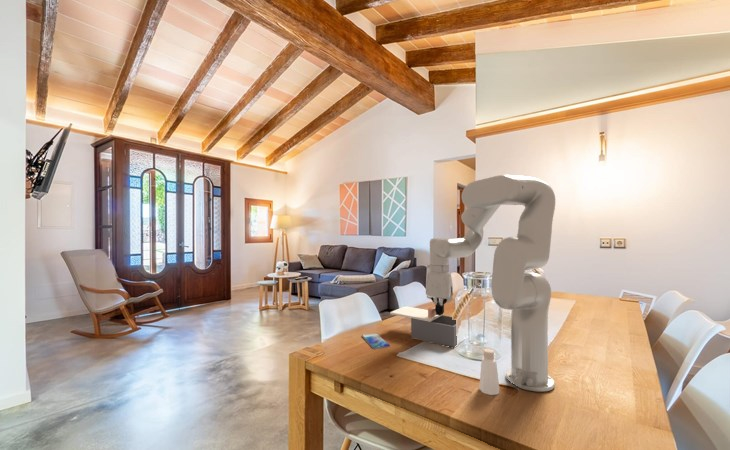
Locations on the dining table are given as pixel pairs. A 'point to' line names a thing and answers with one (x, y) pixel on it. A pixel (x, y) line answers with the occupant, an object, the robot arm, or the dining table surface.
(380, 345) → the smartphone
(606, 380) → the dining table surface
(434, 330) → the box
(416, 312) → the lid
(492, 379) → the pepper shaker
